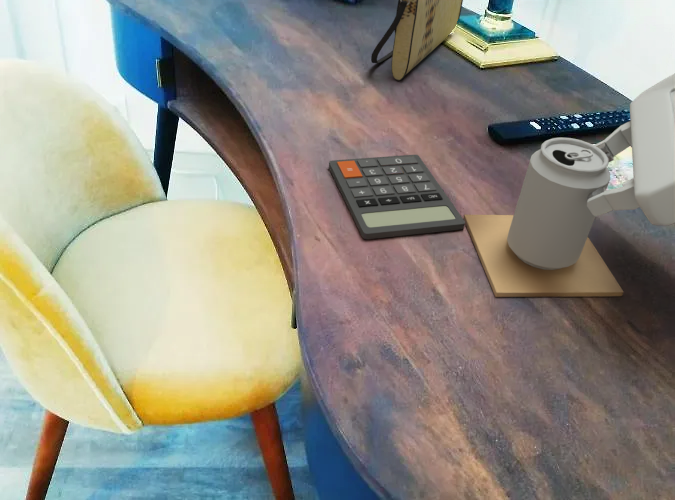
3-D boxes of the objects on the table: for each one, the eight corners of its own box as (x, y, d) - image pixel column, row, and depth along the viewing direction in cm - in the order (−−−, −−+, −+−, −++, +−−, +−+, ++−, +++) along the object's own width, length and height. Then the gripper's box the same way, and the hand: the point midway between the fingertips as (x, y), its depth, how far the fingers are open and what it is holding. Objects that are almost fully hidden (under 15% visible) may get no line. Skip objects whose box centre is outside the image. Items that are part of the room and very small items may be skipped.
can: (495, 231, 70) (523, 132, 63) (559, 229, 71) (594, 132, 64) (520, 276, 64) (554, 173, 57) (589, 273, 65) (632, 172, 58)
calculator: (418, 152, 81) (466, 222, 70) (416, 159, 82) (465, 228, 71) (328, 159, 78) (364, 232, 67) (328, 165, 79) (363, 239, 68)
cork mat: (573, 219, 74) (574, 215, 74) (621, 296, 64) (624, 292, 64) (462, 218, 73) (464, 214, 72) (495, 297, 62) (496, 292, 62)
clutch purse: (424, 25, 123) (437, -61, 113) (459, 33, 120) (476, -53, 111) (358, 77, 101) (368, -23, 92) (399, 88, 99) (414, -13, 90)
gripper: (790, 200, 47) (606, 269, 55) (746, 92, 62) (607, 157, 70) (753, 132, 45) (568, 213, 53) (717, 38, 60) (578, 111, 69)
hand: (591, 180), depth 62 cm, fingers open, 8 cm apart
